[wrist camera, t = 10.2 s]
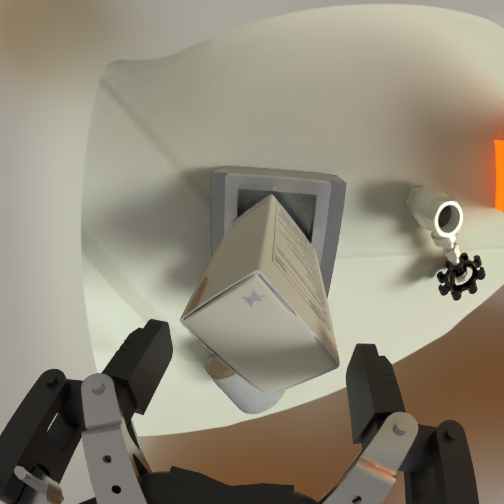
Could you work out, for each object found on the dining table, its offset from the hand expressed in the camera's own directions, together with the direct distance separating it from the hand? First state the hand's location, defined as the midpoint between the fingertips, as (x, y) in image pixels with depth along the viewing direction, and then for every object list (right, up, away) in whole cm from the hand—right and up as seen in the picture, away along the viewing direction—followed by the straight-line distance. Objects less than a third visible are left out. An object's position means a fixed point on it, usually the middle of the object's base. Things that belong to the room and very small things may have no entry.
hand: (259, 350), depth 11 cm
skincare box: (+2, +5, +11) cm, 12 cm away
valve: (+20, +7, +15) cm, 26 cm away
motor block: (+2, +6, +18) cm, 19 cm away
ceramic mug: (-1, -11, +26) cm, 28 cm away
